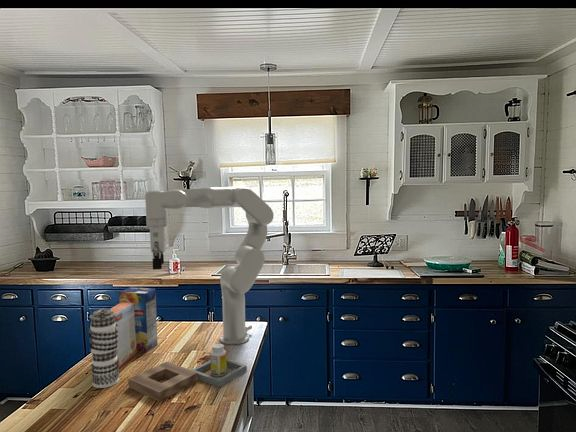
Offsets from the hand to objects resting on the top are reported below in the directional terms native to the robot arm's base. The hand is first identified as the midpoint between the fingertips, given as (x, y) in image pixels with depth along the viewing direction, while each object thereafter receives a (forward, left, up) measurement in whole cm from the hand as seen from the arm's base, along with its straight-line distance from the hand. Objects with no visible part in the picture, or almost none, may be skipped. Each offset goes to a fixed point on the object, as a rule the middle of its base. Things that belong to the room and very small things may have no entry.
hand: (158, 266), depth 164 cm
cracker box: (+13, -8, -35) cm, 38 cm away
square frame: (0, +31, -35) cm, 47 cm away
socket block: (+16, +21, -35) cm, 44 cm away
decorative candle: (+26, +3, -35) cm, 44 cm away
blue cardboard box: (+1, -13, -35) cm, 38 cm away
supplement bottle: (0, +31, -35) cm, 47 cm away
